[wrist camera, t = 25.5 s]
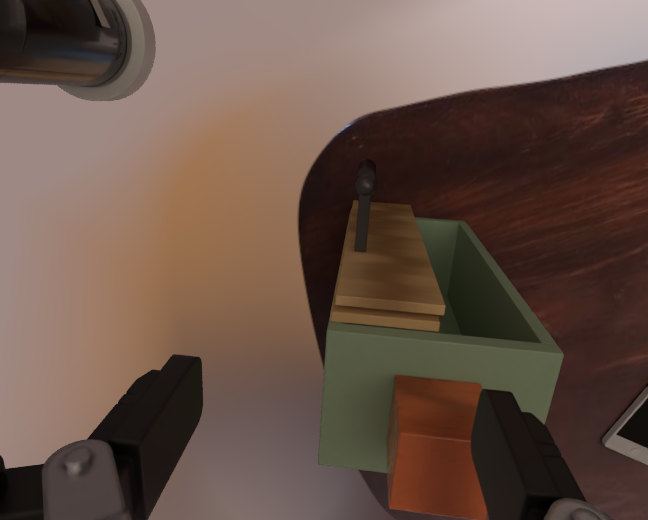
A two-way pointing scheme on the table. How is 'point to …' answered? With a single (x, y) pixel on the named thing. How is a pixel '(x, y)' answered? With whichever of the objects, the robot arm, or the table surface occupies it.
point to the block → (433, 448)
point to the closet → (431, 348)
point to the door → (385, 256)
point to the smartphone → (631, 431)
